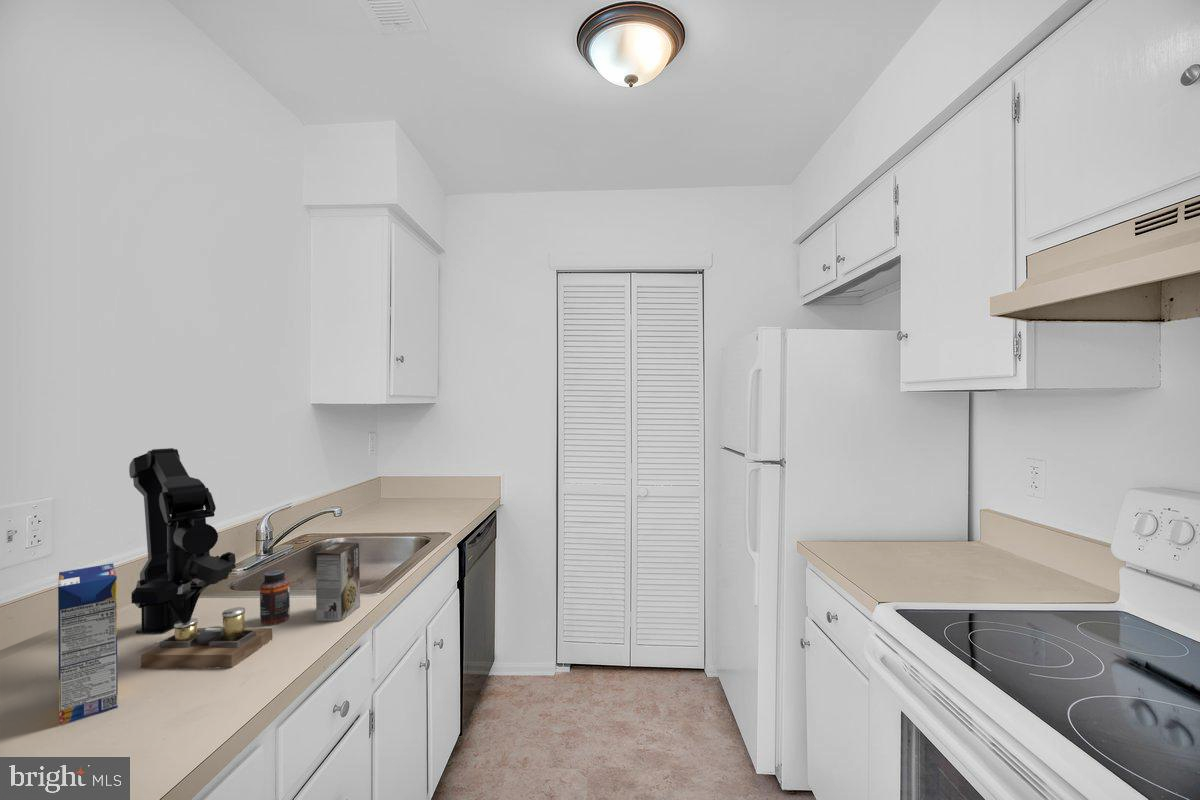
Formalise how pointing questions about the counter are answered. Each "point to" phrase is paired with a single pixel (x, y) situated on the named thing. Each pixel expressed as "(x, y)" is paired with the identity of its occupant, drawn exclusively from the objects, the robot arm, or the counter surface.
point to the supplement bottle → (274, 598)
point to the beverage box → (87, 642)
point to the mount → (205, 651)
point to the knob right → (233, 624)
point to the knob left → (186, 630)
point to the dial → (208, 634)
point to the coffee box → (337, 581)
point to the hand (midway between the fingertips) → (185, 621)
